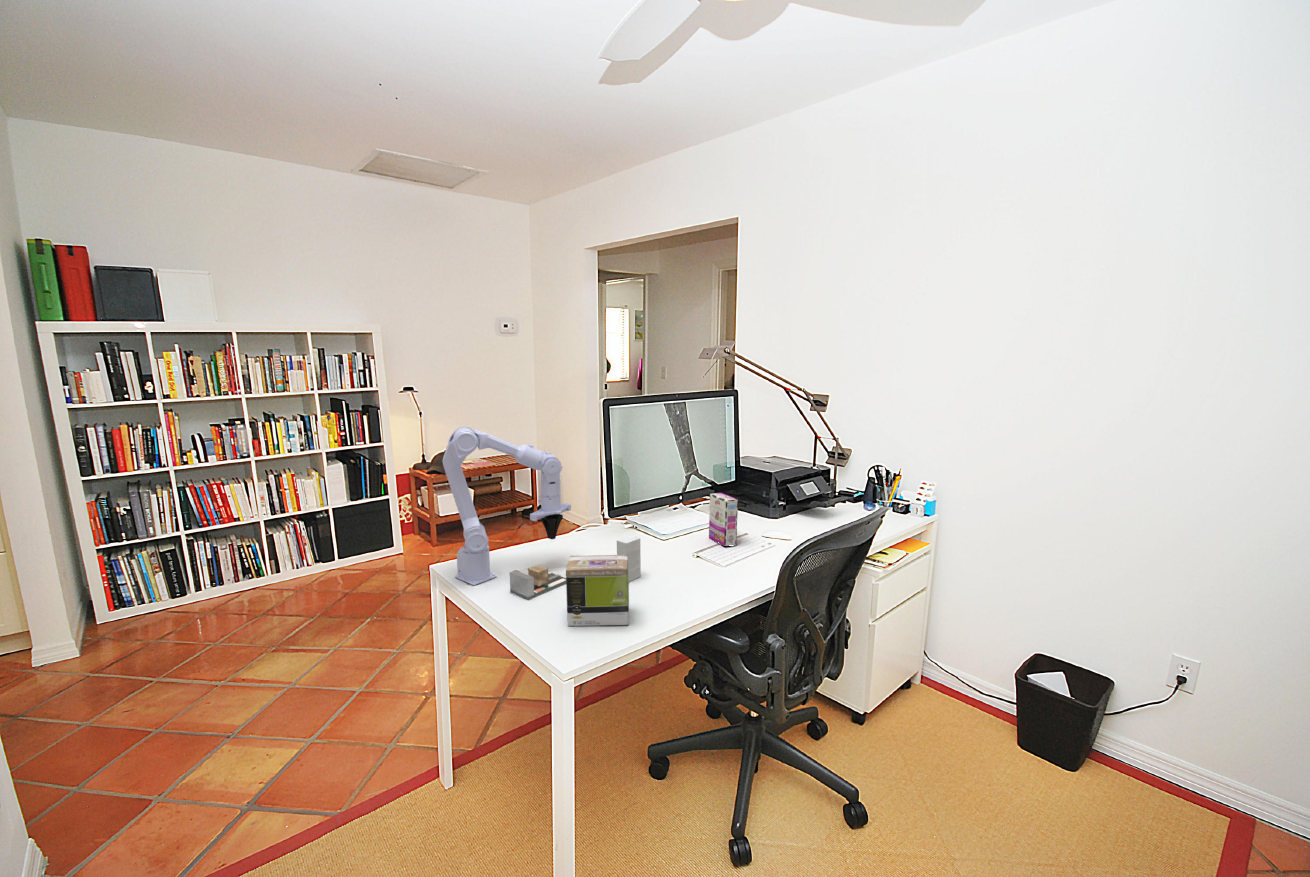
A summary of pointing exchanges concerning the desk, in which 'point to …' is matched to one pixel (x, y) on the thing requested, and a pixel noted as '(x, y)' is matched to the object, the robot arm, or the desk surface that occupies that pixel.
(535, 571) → the gauge slider
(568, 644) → the desk surface
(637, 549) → the skincare box
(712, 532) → the candy bar box
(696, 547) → the desk surface
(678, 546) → the desk surface
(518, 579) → the gauge bed
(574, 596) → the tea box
